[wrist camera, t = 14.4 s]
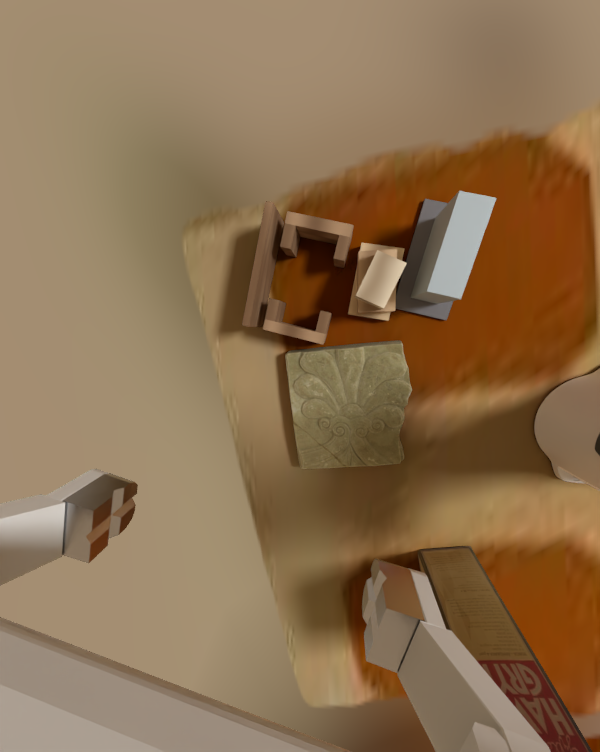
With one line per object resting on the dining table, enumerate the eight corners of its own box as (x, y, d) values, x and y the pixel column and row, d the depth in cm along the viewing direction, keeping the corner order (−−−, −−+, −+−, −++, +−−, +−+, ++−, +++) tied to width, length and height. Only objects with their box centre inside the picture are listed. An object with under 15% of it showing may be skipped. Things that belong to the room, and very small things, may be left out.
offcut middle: (393, 253, 39) (397, 248, 37) (392, 311, 40) (395, 310, 38) (357, 255, 40) (358, 251, 37) (357, 313, 41) (358, 312, 39)
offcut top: (402, 267, 37) (407, 262, 34) (381, 309, 38) (383, 308, 36) (374, 254, 37) (377, 249, 35) (354, 297, 38) (355, 295, 36)
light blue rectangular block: (464, 223, 38) (496, 197, 30) (437, 303, 41) (460, 299, 33) (435, 217, 39) (459, 190, 31) (410, 297, 41) (426, 291, 33)
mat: (482, 212, 38) (484, 210, 38) (445, 320, 41) (446, 320, 41) (423, 200, 39) (425, 198, 38) (391, 307, 42) (392, 307, 41)
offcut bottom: (400, 252, 41) (404, 248, 39) (385, 320, 43) (388, 320, 41) (360, 247, 42) (361, 242, 39) (347, 314, 44) (347, 314, 41)
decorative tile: (301, 462, 49) (298, 473, 46) (287, 350, 46) (283, 352, 43) (411, 458, 46) (416, 469, 43) (404, 338, 43) (410, 339, 40)
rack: (351, 236, 41) (354, 219, 34) (324, 342, 44) (322, 345, 38) (277, 221, 42) (265, 200, 35) (256, 325, 45) (241, 325, 39)
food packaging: (482, 610, 49) (621, 893, 25) (426, 612, 51) (505, 879, 26) (473, 544, 47) (615, 780, 23) (415, 549, 49) (490, 773, 24)
